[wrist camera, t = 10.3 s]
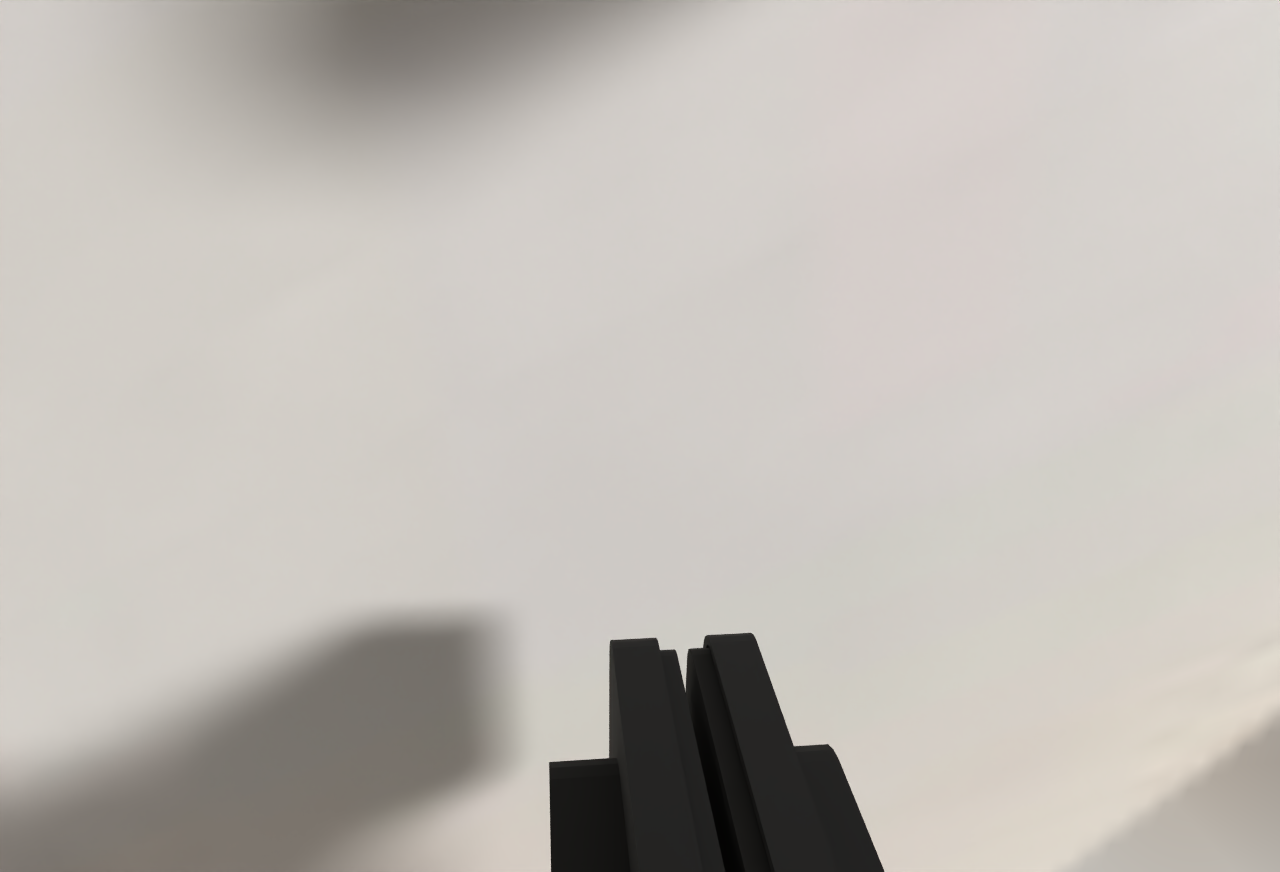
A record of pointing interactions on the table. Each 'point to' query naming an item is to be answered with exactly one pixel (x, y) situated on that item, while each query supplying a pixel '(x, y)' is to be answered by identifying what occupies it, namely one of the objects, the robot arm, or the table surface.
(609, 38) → the table surface
